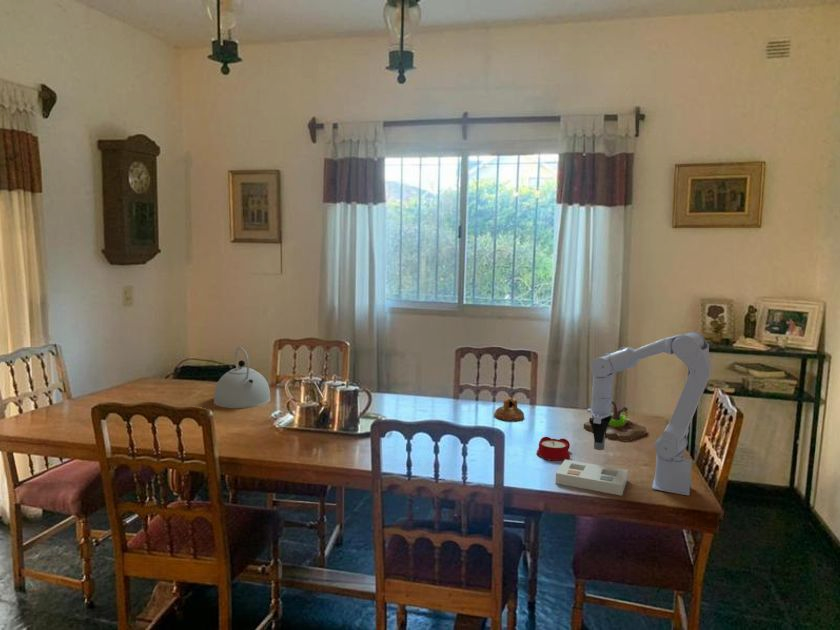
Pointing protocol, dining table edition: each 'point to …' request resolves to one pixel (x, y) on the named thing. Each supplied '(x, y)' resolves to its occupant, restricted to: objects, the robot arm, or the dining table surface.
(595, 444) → the plug
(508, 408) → the brown pouch
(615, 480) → the socket block
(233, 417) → the dining table surface
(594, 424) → the robot arm
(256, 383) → the kettle
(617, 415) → the plant
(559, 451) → the alarm clock
